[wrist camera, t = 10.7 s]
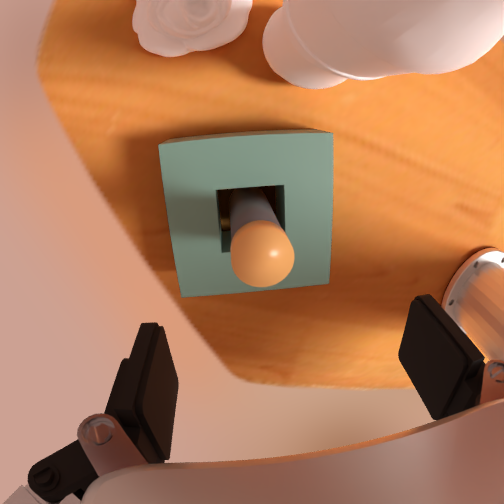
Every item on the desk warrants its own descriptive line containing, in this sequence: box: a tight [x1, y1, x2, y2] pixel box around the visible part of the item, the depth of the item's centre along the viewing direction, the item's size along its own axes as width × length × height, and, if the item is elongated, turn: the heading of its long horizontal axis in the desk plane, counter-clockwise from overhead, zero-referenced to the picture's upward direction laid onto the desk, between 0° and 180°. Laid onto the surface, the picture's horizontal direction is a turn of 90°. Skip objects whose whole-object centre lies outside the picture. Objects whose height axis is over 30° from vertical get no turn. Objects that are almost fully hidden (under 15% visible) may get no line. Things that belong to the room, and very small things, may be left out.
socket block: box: [158, 129, 333, 298], centre depth 25 cm, size 12×12×4 cm
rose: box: [132, 0, 252, 57], centre depth 18 cm, size 10×4×10 cm
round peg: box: [229, 187, 294, 287], centre depth 22 cm, size 3×3×11 cm
